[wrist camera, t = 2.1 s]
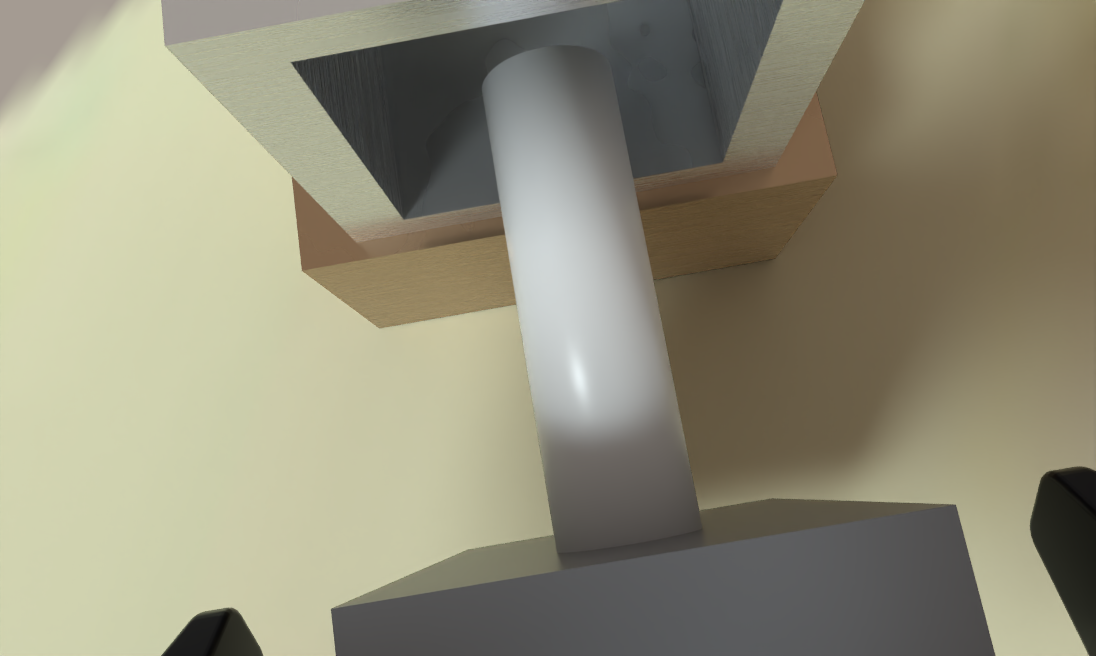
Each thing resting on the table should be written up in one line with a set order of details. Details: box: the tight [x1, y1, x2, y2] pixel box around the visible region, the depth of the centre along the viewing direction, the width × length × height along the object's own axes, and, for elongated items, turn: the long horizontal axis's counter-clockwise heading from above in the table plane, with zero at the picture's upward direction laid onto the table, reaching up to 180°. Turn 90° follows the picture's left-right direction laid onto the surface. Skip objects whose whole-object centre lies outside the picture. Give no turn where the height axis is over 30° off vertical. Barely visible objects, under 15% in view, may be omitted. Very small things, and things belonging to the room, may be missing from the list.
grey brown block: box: [161, 0, 865, 328], centre depth 13 cm, size 6×8×10 cm
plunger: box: [331, 45, 995, 656], centre depth 10 cm, size 8×5×7 cm, turn 10°
